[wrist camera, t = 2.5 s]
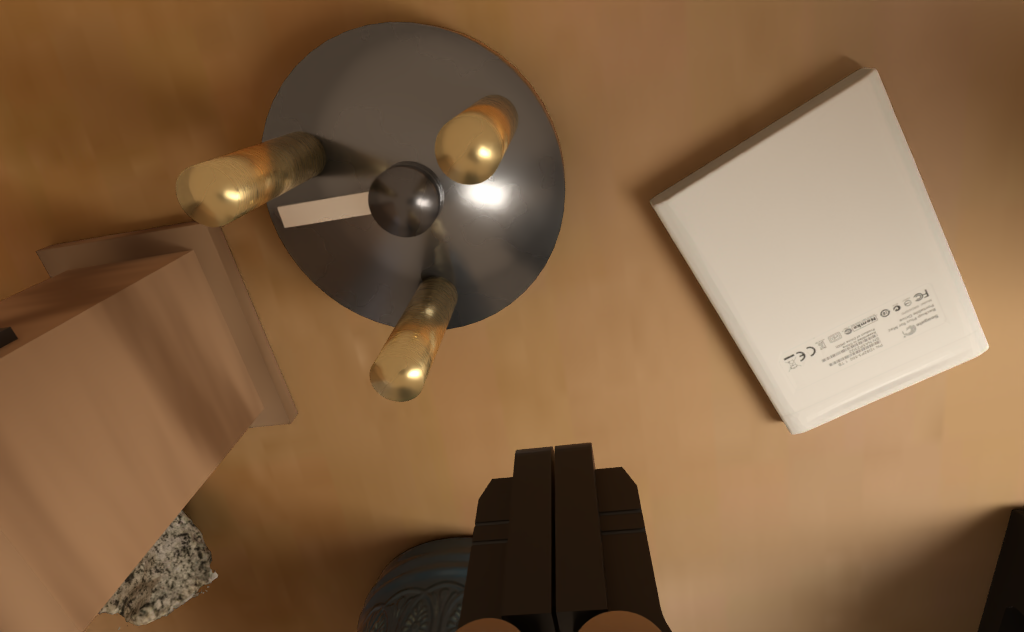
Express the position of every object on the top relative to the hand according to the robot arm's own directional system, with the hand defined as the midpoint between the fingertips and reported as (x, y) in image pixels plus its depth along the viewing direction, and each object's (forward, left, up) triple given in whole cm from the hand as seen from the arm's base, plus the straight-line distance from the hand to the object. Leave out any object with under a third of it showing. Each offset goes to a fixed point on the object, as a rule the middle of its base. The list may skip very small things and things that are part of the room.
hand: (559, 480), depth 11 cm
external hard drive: (-10, +2, -14) cm, 17 cm away
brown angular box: (+18, +1, -13) cm, 22 cm away
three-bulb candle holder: (+5, -4, -13) cm, 14 cm away
